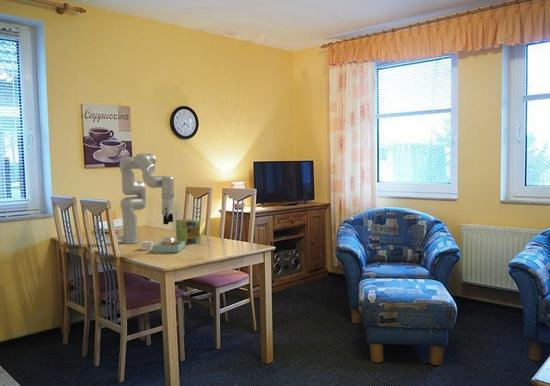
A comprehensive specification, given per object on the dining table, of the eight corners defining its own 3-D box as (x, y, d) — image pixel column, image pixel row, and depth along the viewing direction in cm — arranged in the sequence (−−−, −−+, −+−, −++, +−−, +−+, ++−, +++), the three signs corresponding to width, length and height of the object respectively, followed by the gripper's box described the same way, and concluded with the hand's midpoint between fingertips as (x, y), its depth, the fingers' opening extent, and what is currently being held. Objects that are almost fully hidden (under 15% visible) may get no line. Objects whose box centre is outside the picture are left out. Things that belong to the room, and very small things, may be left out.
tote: (152, 252, 290) (152, 245, 290) (160, 248, 306) (160, 241, 306) (178, 253, 289) (178, 245, 288) (184, 248, 305) (184, 241, 304)
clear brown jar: (162, 249, 294) (162, 238, 294) (165, 247, 301) (165, 237, 300) (172, 249, 294) (172, 238, 294) (175, 247, 300) (175, 237, 300)
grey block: (141, 250, 299) (141, 242, 299) (144, 248, 305) (144, 241, 305) (150, 250, 299) (150, 242, 299) (153, 248, 305) (153, 241, 305)
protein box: (186, 245, 316) (186, 222, 314) (176, 242, 327) (175, 220, 326) (200, 243, 322) (200, 220, 321) (189, 240, 334) (188, 218, 333)
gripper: (166, 194, 304) (166, 221, 305) (157, 197, 286) (158, 225, 288) (177, 194, 303) (177, 221, 305) (169, 197, 286) (170, 225, 287)
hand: (168, 223), depth 296 cm, fingers open, 9 cm apart
